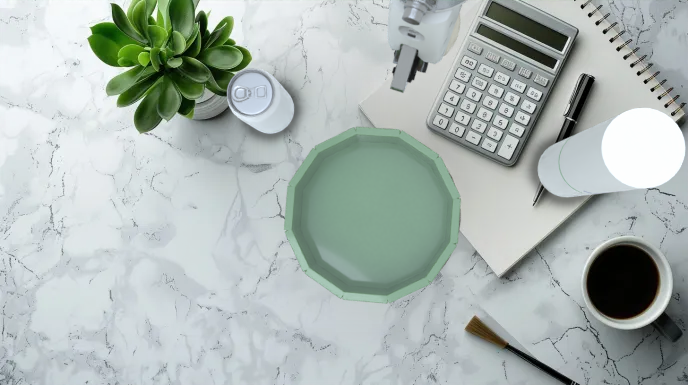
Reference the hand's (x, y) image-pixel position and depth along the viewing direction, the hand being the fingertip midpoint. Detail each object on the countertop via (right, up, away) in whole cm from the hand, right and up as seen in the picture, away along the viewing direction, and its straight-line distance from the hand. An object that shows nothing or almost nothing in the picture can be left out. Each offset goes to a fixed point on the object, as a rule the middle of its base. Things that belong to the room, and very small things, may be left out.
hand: (424, 25), depth 60 cm
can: (-18, -5, +23) cm, 30 cm away
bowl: (-5, -18, -3) cm, 19 cm away
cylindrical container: (+21, -13, +20) cm, 32 cm away
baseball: (0, 0, +3) cm, 3 cm away
